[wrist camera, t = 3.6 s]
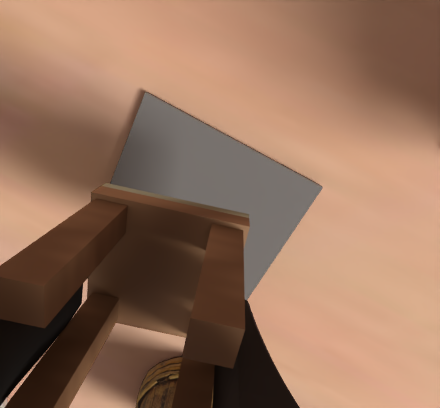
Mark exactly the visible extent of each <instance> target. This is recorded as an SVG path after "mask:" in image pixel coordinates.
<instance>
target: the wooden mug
mask: <svg viewBox="0 0 440 408" xmlns="http://www.w3.org/2000/svg"><path fill="white" fill-rule="evenodd" d="M181 362H182V357H178V358H174V359H170V360H167V361H164V362H161V363H158V364H157V365H156V366H155V367H153V368H152V369H151V370H149V371H148V373H147V375H146V377H145V378H144V380H143V382H142V385H141V388H140V391H139V393H138V397H137V403H136V408H171V407H172V403H173V398H174V394H175V389H176V385H177V380H178V376H179V371H180V367H181ZM212 403H213V394H212ZM211 408H212V405H211Z"/></svg>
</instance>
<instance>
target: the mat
mask: <svg viewBox="0 0 440 408" xmlns="http://www.w3.org/2000/svg"><path fill="white" fill-rule="evenodd" d="M110 184H113V185H118V186H122V187H127V188H132V189H136V190H141V191H145V192H150V193H154V194H159V195H164V196H168V197H173V198H177V199H182V200H186V201H191V202H196V203H200V204H205V205H209V206H214V207H218V208H223V209H228V210H232V211H237V212H241V213H246V214H249V222H250V228H249V232H248V235H247V239H246V243H245V246H244V292H245V300H247V299H248V298H249V296H250V295H251V293H252V292H253V290H254V289H255V287H256V286H257V285H258V283H259V282H260V280H261V279H262V277H263V276H264V274H265V273H266V271H267V270H268V268H269V267H270V265H271V264H272V262H273V261H274V259H275V258H276V256H277V255H278V253H279V252H280V250H281V249H282V247H283V246H284V244H285V243H286V241H287V240H288V239H289V237H290V236H291V234H292V233H293V231H294V230H295V228H296V227H297V225H298V224H299V222H300V221H301V219H302V218H303V216H304V215H305V213H306V212H307V210H308V209H309V207H310V206H311V204H312V203H313V201H314V200H315V198H316V197H317V195H318V194H319V193H320V191H321V190H322V188H323V187H322V186H321V185H319V184H317V183H315V182H313V181H312V180H310V179H308V178H306V177H304V176H302V175H300V174H299V173H297V172H295V171H293V170H291V169H289V168H287V167H286V166H284V165H282V164H280V163H278V162H276V161H274V160H272V159H271V158H269V157H267V156H265V155H263V154H261V153H259V152H258V151H256V150H254V149H252V148H250V147H248V146H246V145H245V144H243V143H241V142H239V141H237V140H235V139H233V138H232V137H230V136H228V135H226V134H224V133H222V132H220V131H219V130H217V129H215V128H213V127H211V126H209V125H207V124H206V123H204V122H202V121H200V120H198V119H196V118H194V117H193V116H191V115H189V114H187V113H185V112H183V111H181V110H180V109H178V108H176V107H174V106H172V105H170V104H168V103H167V102H165V101H163V100H161V99H159V98H157V97H155V96H154V95H152V94H150V93H147V92H145V94H144V97H143V100H142V102H141V105H140V107H139V110H138V113H137V115H136V118H135V120H134V123H133V126H132V128H131V131H130V133H129V136H128V139H127V141H126V144H125V146H124V149H123V151H122V154H121V157H120V159H119V162H118V164H117V167H116V170H115V172H114V175H113V177H112V180H111V183H110Z"/></svg>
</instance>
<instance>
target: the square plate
mask: <svg viewBox="0 0 440 408" xmlns="http://www.w3.org/2000/svg"><path fill="white" fill-rule="evenodd" d="M6 405H7V398H6V399H5V401H4V402H3V403H2V405H1V406H0V408H4V407H5V406H6Z"/></svg>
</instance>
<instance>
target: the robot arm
mask: <svg viewBox="0 0 440 408" xmlns="http://www.w3.org/2000/svg"><path fill="white" fill-rule="evenodd" d="M82 290H83V284H82V285H81V286H80V288H79V289H78V290H77V291H76V292H75V293H74V295H73V296H72V297H71V298H70V299H69V300H68V302H67V303H66V304H65V305H64V306H63V308H62V309H61V310H60V311H59V312H58V313H57V315H56V316H55V317H54V318H53V319H52V321H51V322H50V323H49V324H48V325H47V326H46V328H40V327H36V326H31V325H26V324H22V323H17V322H12V321H8V320H3V319H0V406H1V405H2V403H3V402H4V401H5V399H6V398H7V397H8V395H9V394H10V393H11V392H12V390H13V389H14V388H15V387H16V385H17V384H18V383H19V382H20V381H21V380H22V378H23V377H24V376H25V375H26V374H27V372H28V371H29V370H30V369H31V368H32V367H33V365H34V364H35V363H36V362H37V361H38V360H39V358H40V357H41V356H42V355H43V354H44V353H45V351H46V350H47V349H48V348H49V347H50V346H51V344H52V343H53V342H54V341H55V340H56V338H57V337H58V336H59V335H60V334H61V332H62V331H63V330H64V329H65V328H66V326H67V325H68V323H69V322H70V320H71V319H72V317H73V316H74V314H75V313H76V311H77V310H78V308H79V306H80V305H81V303H82ZM212 408H300V407H299V406H298V404H297V403H296V401H295V400H294V398H293V396H292V395H291V393H290V391H289V390H288V388H287V386H286V385H285V383H284V381H283V379H282V378H281V376H280V374H279V372H278V370H277V368H276V366H275V364H274V363H273V361H272V359H271V357H270V354H269V352H268V350H267V348H266V346H265V344H264V341H263V339H262V337H261V335H260V332H259V330H258V327H257V325H256V322H255V320H254V317H253V314H252V312H251V309H250V306H249V303H248V301H247V300H245V332H244V335H243V338H242V341H241V345H240V348H239V351H238V354H237V357H236V360H235V364H234V367H233V369H232V368H228V367H223V366H218V365H215V367H214V384H213V403H212Z"/></svg>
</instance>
